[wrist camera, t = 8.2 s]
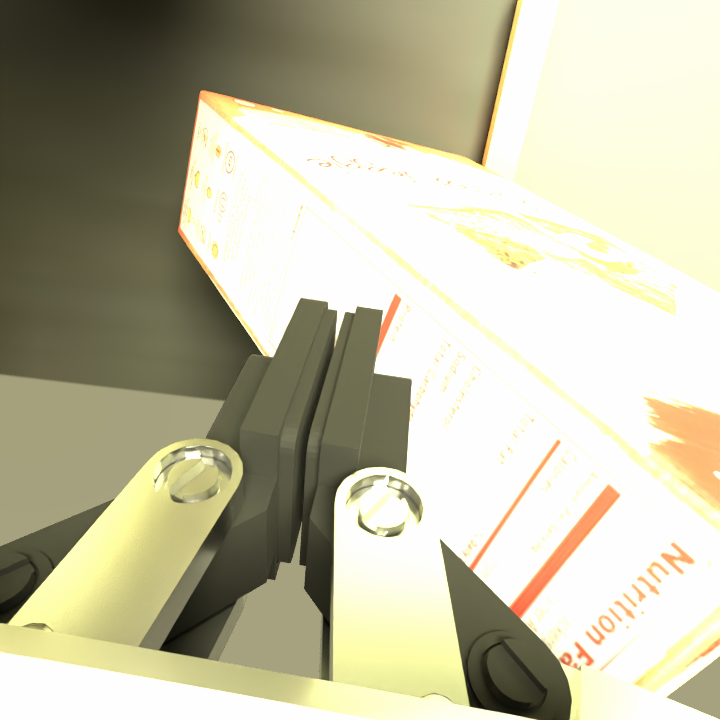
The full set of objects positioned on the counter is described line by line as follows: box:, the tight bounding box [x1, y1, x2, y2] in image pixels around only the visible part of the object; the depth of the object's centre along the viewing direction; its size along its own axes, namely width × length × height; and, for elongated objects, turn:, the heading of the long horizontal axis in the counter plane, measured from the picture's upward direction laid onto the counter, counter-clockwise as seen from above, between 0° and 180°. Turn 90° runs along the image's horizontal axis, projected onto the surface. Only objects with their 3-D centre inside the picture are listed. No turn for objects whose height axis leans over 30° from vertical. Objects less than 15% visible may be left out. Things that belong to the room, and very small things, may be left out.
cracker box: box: [178, 90, 720, 697], centre depth 18 cm, size 14×6×21 cm
